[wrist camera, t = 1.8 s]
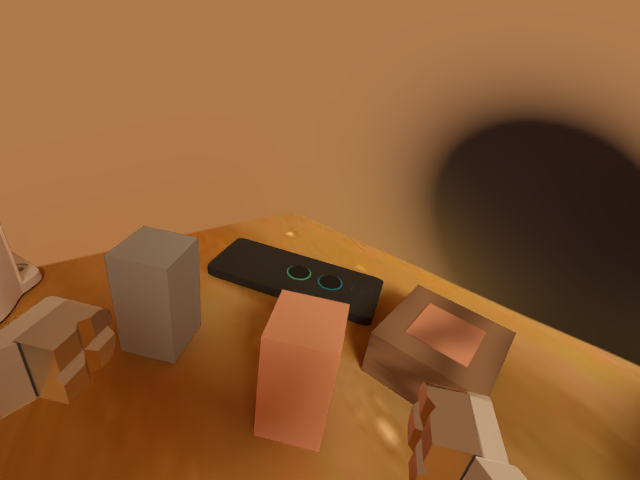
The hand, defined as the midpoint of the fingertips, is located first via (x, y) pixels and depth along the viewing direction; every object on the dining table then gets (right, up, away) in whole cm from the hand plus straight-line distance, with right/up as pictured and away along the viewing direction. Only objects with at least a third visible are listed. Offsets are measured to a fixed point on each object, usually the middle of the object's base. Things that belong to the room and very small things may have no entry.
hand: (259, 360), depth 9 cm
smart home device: (-1, -2, +36) cm, 36 cm away
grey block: (-13, -6, +25) cm, 29 cm away
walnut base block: (+12, -10, +26) cm, 31 cm away
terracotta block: (-1, -11, +20) cm, 23 cm away
